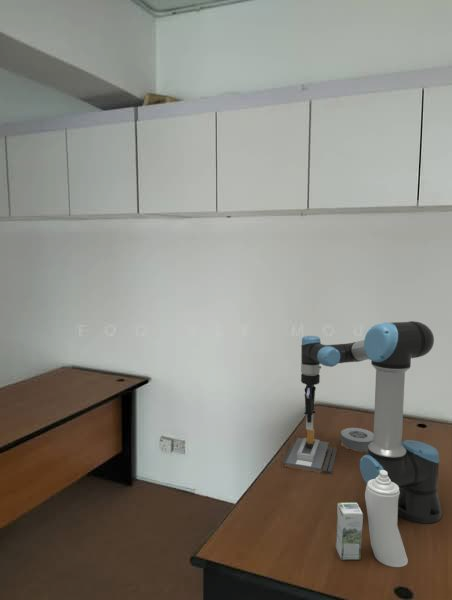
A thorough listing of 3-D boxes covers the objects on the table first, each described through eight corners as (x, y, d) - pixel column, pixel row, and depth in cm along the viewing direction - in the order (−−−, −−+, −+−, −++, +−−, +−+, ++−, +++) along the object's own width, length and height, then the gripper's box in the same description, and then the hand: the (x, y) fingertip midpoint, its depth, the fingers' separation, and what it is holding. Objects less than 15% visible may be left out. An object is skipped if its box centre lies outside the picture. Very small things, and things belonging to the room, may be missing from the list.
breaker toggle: (313, 449, 198) (313, 431, 197) (306, 448, 198) (307, 430, 198) (314, 446, 201) (314, 428, 200) (307, 445, 202) (308, 427, 201)
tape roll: (382, 449, 203) (383, 438, 203) (354, 454, 198) (354, 443, 197) (360, 436, 218) (361, 425, 217) (333, 440, 212) (333, 430, 211)
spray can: (378, 571, 126) (382, 485, 123) (356, 547, 136) (360, 466, 133) (414, 564, 129) (419, 479, 126) (390, 541, 139) (394, 462, 136)
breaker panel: (331, 475, 179) (331, 464, 179) (281, 466, 186) (281, 456, 185) (337, 448, 204) (338, 438, 203) (294, 441, 210) (294, 432, 210)
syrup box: (354, 547, 136) (356, 501, 134) (361, 561, 130) (363, 512, 128) (335, 547, 136) (337, 501, 134) (341, 561, 130) (342, 512, 128)
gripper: (317, 378, 183) (316, 435, 185) (321, 370, 195) (320, 424, 197) (298, 376, 185) (297, 433, 187) (304, 369, 197) (303, 422, 199)
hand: (309, 428), depth 192 cm, fingers closed
